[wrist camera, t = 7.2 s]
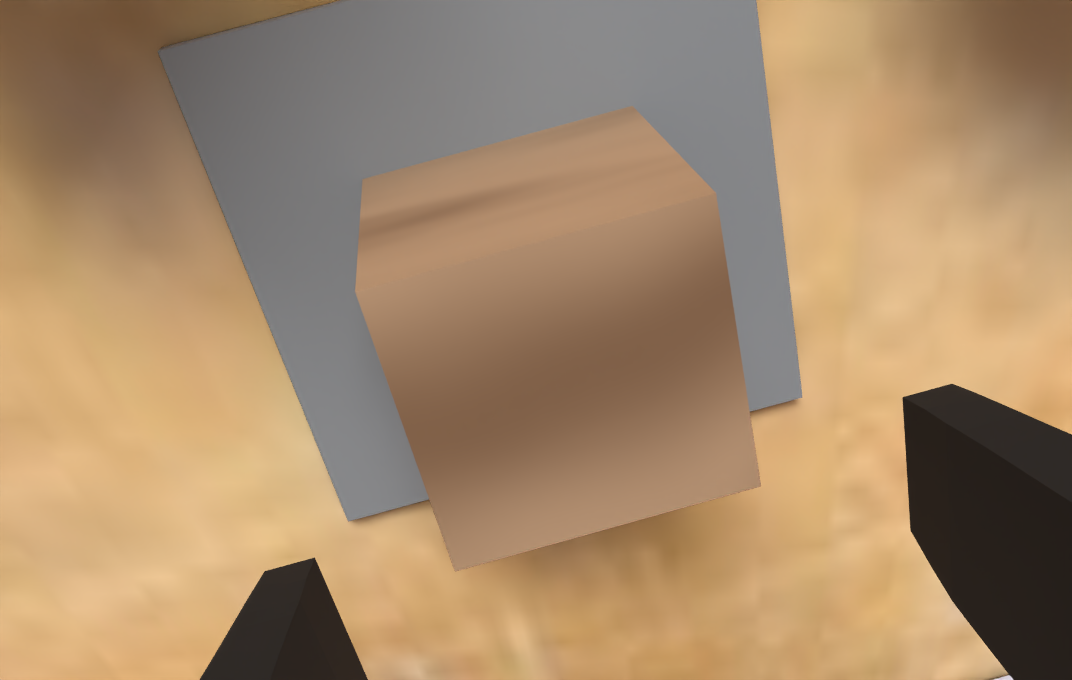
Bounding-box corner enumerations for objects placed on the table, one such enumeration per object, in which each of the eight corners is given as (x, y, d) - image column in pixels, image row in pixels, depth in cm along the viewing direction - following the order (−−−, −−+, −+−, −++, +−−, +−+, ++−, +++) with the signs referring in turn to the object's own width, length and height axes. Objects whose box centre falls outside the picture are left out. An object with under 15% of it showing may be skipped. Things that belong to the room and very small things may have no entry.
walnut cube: (677, 344, 22) (761, 486, 17) (439, 409, 22) (454, 571, 17) (631, 105, 19) (715, 193, 14) (362, 178, 19) (355, 291, 14)
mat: (795, 389, 23) (802, 397, 23) (348, 511, 23) (348, 521, 23) (737, -105, 18) (744, -103, 18) (161, 47, 18) (157, 51, 18)
